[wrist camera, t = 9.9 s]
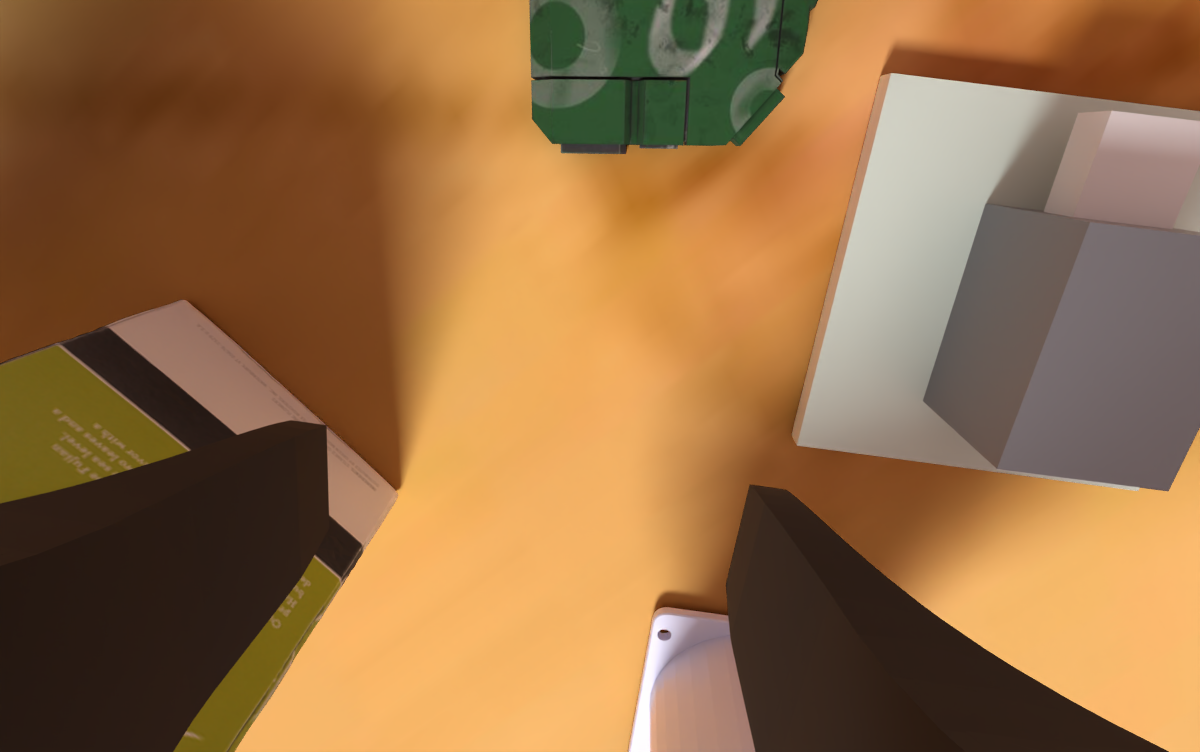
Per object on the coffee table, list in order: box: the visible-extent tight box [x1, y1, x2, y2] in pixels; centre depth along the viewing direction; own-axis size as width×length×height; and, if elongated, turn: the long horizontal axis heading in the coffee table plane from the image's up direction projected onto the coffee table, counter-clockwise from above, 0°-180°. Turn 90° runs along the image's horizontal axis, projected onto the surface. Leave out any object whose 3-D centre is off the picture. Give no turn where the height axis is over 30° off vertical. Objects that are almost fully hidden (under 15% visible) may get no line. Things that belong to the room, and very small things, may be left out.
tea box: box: [0, 300, 398, 752], centre depth 17 cm, size 15×10×15 cm, turn 132°
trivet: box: [791, 73, 1200, 491], centre depth 19 cm, size 11×11×1 cm
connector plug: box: [923, 111, 1200, 491], centre depth 16 cm, size 8×4×4 cm, turn 173°
